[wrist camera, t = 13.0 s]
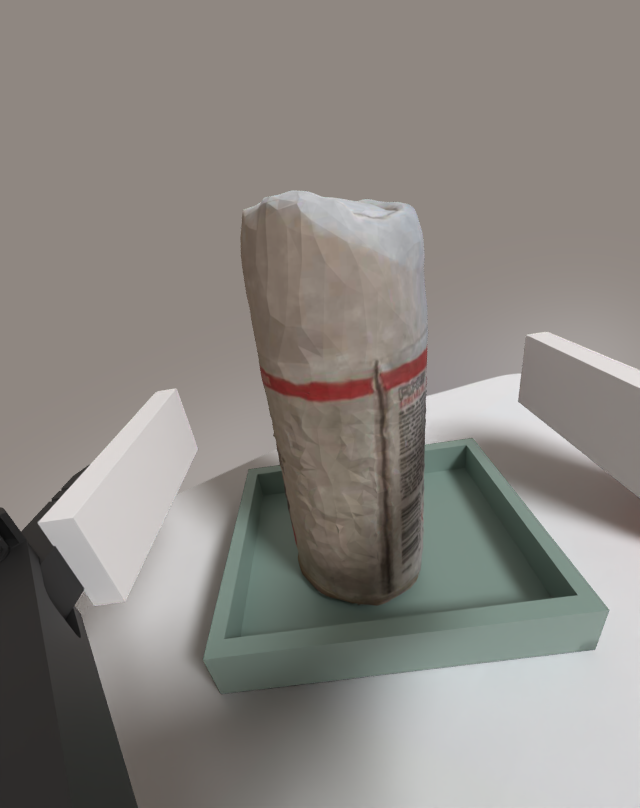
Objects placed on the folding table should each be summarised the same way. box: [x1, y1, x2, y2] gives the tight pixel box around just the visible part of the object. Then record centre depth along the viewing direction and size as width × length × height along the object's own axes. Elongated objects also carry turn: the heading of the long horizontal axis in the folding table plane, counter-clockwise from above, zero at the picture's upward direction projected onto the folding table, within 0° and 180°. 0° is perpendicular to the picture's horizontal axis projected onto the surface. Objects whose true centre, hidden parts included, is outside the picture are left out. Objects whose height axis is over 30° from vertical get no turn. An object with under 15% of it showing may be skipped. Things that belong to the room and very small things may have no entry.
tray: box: [203, 438, 609, 694], centre depth 22 cm, size 18×14×3 cm
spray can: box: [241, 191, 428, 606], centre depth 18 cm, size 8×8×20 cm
